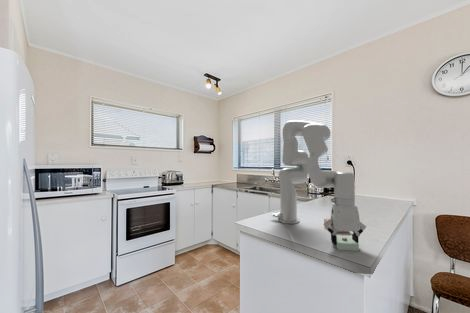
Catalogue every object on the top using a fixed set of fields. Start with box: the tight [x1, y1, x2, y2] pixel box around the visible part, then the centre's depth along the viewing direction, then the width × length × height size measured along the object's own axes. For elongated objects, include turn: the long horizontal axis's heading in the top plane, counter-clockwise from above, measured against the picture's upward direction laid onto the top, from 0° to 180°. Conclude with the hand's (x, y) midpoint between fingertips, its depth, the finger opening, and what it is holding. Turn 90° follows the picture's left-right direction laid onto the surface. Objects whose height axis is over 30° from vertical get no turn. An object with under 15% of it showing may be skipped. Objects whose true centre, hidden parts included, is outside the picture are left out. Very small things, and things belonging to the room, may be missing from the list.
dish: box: [323, 218, 350, 234], centre depth 104 cm, size 9×9×4 cm
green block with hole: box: [334, 235, 360, 252], centre depth 83 cm, size 8×8×3 cm
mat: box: [330, 242, 351, 252], centre depth 83 cm, size 8×8×1 cm
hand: (344, 244), depth 83 cm, fingers closed on green block with hole, 7 cm apart
